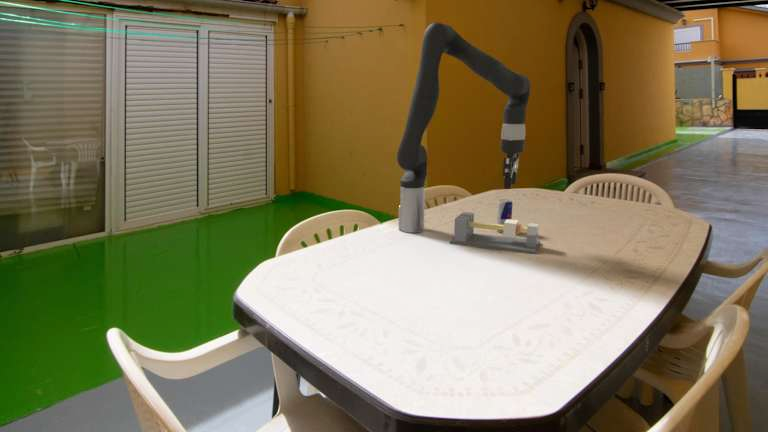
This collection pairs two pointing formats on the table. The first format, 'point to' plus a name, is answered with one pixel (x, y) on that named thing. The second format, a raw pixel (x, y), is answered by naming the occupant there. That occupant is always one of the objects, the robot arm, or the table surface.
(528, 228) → the cord rig
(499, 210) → the energy drink
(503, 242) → the grey base plate
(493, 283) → the table surface
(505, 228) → the sleeve
